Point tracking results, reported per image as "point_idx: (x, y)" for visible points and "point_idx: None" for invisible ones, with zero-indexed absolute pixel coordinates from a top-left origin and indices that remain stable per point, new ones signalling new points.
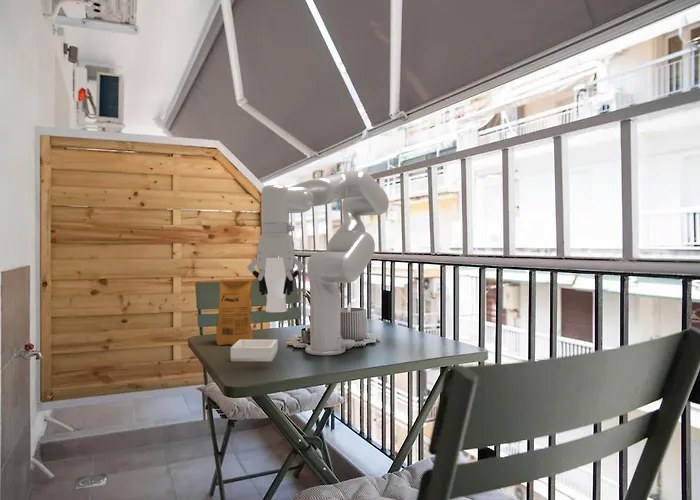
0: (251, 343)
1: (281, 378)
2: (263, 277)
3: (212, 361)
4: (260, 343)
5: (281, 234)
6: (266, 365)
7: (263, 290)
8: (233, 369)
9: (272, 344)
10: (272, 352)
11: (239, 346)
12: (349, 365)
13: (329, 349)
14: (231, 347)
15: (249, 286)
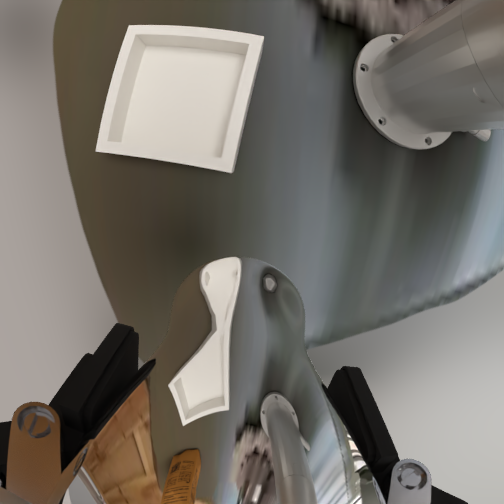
0: (169, 39)
1: None
2: (65, 456)
3: (73, 145)
4: (200, 41)
5: None
6: (215, 217)
7: None
8: (128, 243)
9: (237, 115)
10: (235, 159)
11: (128, 74)
12: (425, 267)
13: (420, 133)
14: (98, 148)
15: None
